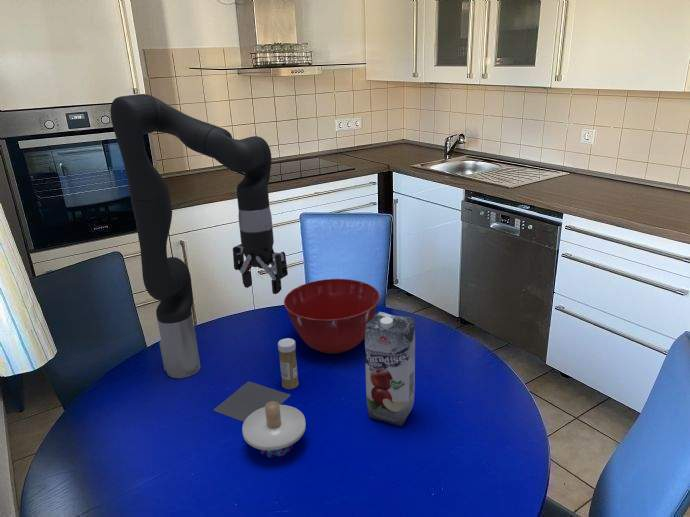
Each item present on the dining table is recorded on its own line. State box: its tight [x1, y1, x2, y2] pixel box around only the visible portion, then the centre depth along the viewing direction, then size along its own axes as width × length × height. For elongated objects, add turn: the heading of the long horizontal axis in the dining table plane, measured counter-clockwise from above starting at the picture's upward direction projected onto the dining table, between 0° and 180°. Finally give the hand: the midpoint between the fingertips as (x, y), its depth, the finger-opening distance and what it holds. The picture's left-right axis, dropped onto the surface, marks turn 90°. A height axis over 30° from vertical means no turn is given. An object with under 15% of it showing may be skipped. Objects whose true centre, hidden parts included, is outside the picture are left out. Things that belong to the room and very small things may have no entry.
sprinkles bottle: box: [277, 337, 299, 390], centre depth 140 cm, size 5×5×14 cm
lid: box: [241, 401, 307, 450], centre depth 118 cm, size 14×14×6 cm
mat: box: [212, 381, 292, 423], centre depth 136 cm, size 14×14×1 cm
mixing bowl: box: [283, 278, 381, 354], centre depth 161 cm, size 28×28×16 cm
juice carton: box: [364, 311, 416, 427], centre depth 125 cm, size 9×10×27 cm
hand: (262, 289), depth 129 cm, fingers open, 8 cm apart
